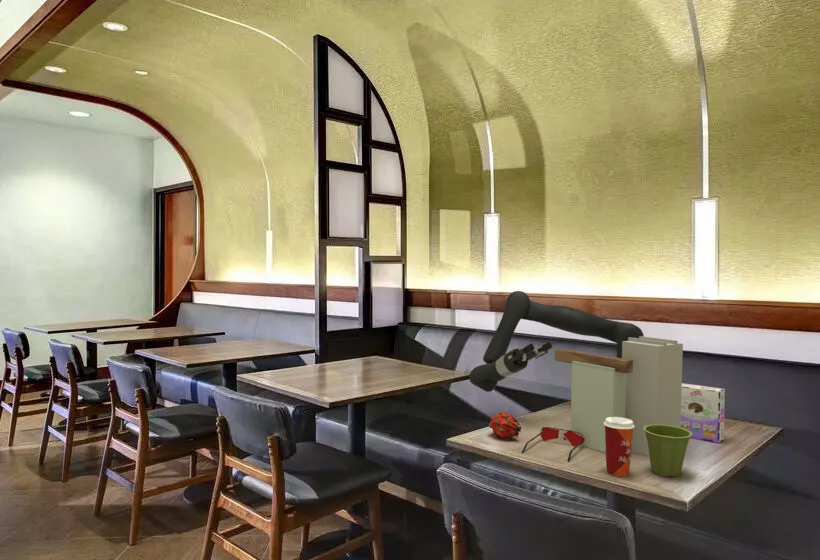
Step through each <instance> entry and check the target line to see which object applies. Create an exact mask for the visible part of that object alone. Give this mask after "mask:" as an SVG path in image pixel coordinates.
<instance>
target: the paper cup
mask: <svg viewBox="0 0 820 560" xmlns="http://www.w3.org/2000/svg"><path fill="white" fill-rule="evenodd" d="M604 425H605V444H606V453H605V462H606V464H605V465H606V467H605V468H606V473H607V472H608V474H609V473H610V474H609V475H611V474H613V475H612V476H614V475H619V476H618V477H626V476H625V475H628V474H629V475H630V467H631V456H632V451H631V448H632V436H633V428H634V427H635V426H634V425H633V421H632V420H630V419H627V418H622V417H608V418H606V419H605V422H604ZM629 475H628V476H629Z"/></svg>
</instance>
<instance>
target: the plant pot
mask: <svg viewBox="0 0 820 560" xmlns="http://www.w3.org/2000/svg"><path fill="white" fill-rule="evenodd" d="M643 429H644V431H645V432H646V438H647V441H648V448H649V456H650V457H649V456H648V457H649V463H650V470H651V471H652V472H653V473H654V474H656V475H659V476H662V475H663V476H662V477H670V476H671V477H674V476H676V477H679V476H680V475H681V473H682V469H683V465H684V460H685V456H686V451H687V446H688V445H689V441H690V439H691V438H690V437H691V436H692V433H691V432H690V431H688V430H686V429H683V428H680V427H675V426H670V425H658V424H656V425H647V426H644V428H643ZM678 475H679V476H678Z"/></svg>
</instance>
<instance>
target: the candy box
mask: <svg viewBox="0 0 820 560" xmlns="http://www.w3.org/2000/svg"><path fill="white" fill-rule="evenodd" d="M725 392H726V389H725V388H720V387H715V386H714V387H713V386H712V387H711V386H706V385H705V386H704V385H699V384H693V383H692V384H690V383H683V382H682V394H681V428H683V429H686V430H688V431H690V432H691V433H692V436H691V437H690V438H689V439H695V440H700V441H706V442H710V443H717V444H719V443H721V442H722V440H723V441H724V439H725V402H726V401H725V400H726V399H725V397H726V396H725V395H726V393H725Z"/></svg>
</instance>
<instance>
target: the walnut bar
mask: <svg viewBox="0 0 820 560" xmlns="http://www.w3.org/2000/svg"><path fill="white" fill-rule="evenodd" d="M554 361H556V362H561V363H567V364H572V361H576V362H582V363H588V364H593V365H599V366H604V367H610V368H615V372H620V373H631V372H633V360H629V359H623V358H616V356H610V355H604V354H603V355H602V354H596V353H592V352H591V353H590V352H585V351H580V350H573V349H568V348H567V349H566V348H558V349H557V348H556V349H554Z"/></svg>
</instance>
